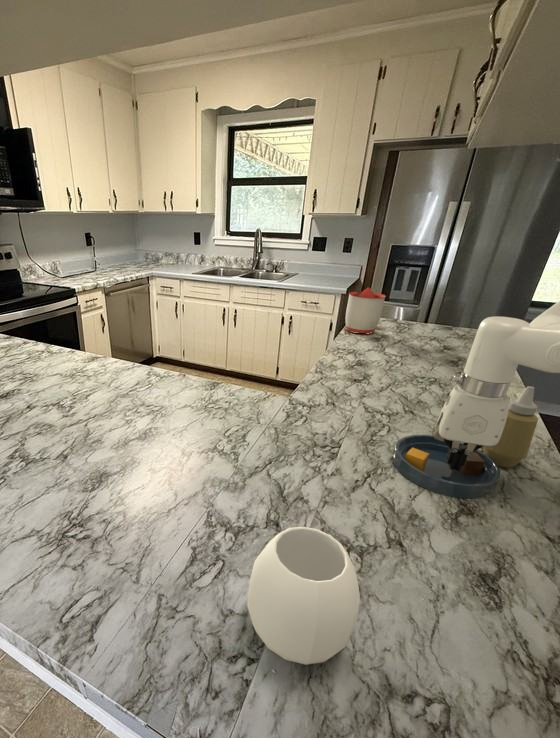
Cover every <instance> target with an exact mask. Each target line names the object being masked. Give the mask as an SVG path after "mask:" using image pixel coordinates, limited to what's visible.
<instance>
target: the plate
mask: <svg viewBox="0 0 560 738" xmlns="http://www.w3.org/2000/svg"><path fill="white" fill-rule="evenodd" d="M462 444H463V442H460V443H459V447H460V446H462ZM411 448H415V449H418V450H421V451H424V452H426V453H429V457H428V460H427V463H426V465H425V468H424V469H423V470H422V471H421V470H419V469H417V468H415V467H414V466H412V465H411V464H410V463H408V462H407V461H406V460H405V457H406V454H407V453H408V451H409V450H410V449H411ZM448 451H449V447H448V446H447V444H446V443H445V442H442V441H440V440H437V439H435V438H434V437H433V434H432V435H430V434H412V435H408V436H404V437H402V438H401V439H400V438H399V440H397V442H396V444H395V445H394V449H393V453H392V457H391V459H392V465H393V466H394V468H395V469H396V470H397V472H399V473H400V474H401V475H402V476H403V477H404V478H406V479H407V480H408V481H410V482H411V483H414V485H415V484H416V485H417V486H419V487H421V488H424V489H426V490H428V491H431V492H433V493H436V494H440V495H443V496H448V497H452V498H460V499H481V498H484V497H487V496H490V495H491V494H492V493H493V492H494V491H495V490H496V488H497V485H498V483H499V481H500V479H501V469H500V466H498V465H497V464H496V463H495V462H494V461H493V460H492V459H491V458H490V457H489V456H487V455H486V454H484V453H483V452H482V451H481V450H480V449H478V450H475V451H473V453H477V454H478V455H479V456H480V457H481V458H482V459H483V460H484V461H485V464H484V466H483V468H482V471H481V473H480V475H462V474H461V472H460V471H456V470H455V469H453V470H450V468H449V466H448V463H446V457H447V454H448Z"/></svg>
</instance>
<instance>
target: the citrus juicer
mask: <svg viewBox="0 0 560 738" xmlns="http://www.w3.org/2000/svg"><path fill="white" fill-rule="evenodd" d="M386 297H387V296H386V295H385V294H383V293H379V292H373V290H372V289H371V287H367V288H365V289H364V290H363V291H361V292H360V294H359V293H358V292H357V291H351V292H349V293H348V300H347V304H346V305H347V306H346V309H345V310H346V311H345V329H346V328H347V329H346V331H347V330H349V331H353V332H358V333H370V332H373V331H376V328H377V326H378V324H379V322H380V320H381V316H382V312H383V308H384V304H385V298H386ZM349 331H348V332H349ZM373 333H374V332H373Z"/></svg>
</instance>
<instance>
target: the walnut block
mask: <svg viewBox="0 0 560 738" xmlns="http://www.w3.org/2000/svg"><path fill="white" fill-rule="evenodd" d="M484 464H485V461H484V460H483V459H482V458H481V457H480V456H479V455H478V454H477V453H473V452H472V453H471V454H470V455H468V456H467V458H466V461H465V463H464V466H461V467H460V470H459V471H460V472H461V474H462V475H480V473H481V471H482V468H483V466H484Z"/></svg>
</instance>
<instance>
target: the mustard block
mask: <svg viewBox="0 0 560 738" xmlns="http://www.w3.org/2000/svg"><path fill="white" fill-rule="evenodd" d="M428 457H429V453H426V452H424V451H421V450H418V449H415V448H411V449H410V450H409V451H408V453H407V454H406V457H405V460H406V461H407V462H408V463H410V464H411V465H412V466H414V467H415V468H417V469H419V470H421V471H422V470H423V469H424V468H425V465H426V463H427V460H428Z"/></svg>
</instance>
